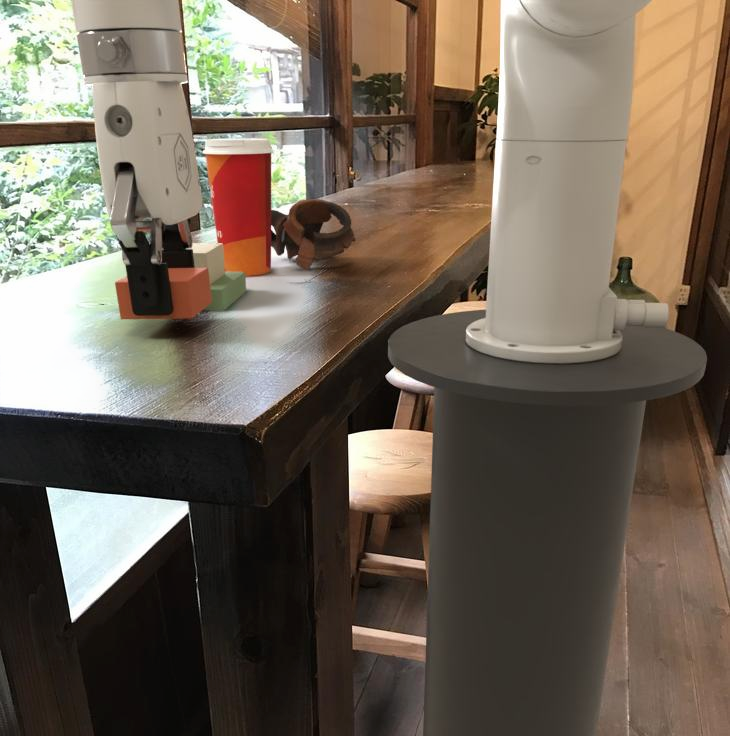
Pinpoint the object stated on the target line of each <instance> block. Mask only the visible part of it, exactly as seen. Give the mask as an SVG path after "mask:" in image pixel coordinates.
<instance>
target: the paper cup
mask: <svg viewBox="0 0 730 736" xmlns="http://www.w3.org/2000/svg"><path fill="white" fill-rule="evenodd" d="M270 141H271V140H270V139H269V138H259V137H250V138H247V137H245V138H241V137H240V138H239V137H238V138H232V137H231V138H210V139H205V144H204V149H203V150H202V153H201V154H204V155H205V161H206V168H207V169H206V170H207V177H208V183H209V191H210V198H211V207H212V213H213V220H214V227H215V228H214V229H215V234H216V235H215V236H216V241H217V243H223V252H224V265H225V272H245V277H252V276H261V275H265V274H269V273H270V272H271V269H272V268H271V267H272V247H271V230H272V225H271V210H272V153H275V151H274V149H272V146H271V142H270Z"/></svg>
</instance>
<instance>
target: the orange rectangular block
mask: <svg viewBox="0 0 730 736" xmlns="http://www.w3.org/2000/svg"><path fill="white" fill-rule="evenodd" d="M168 272H169V280H170V287H171V295H172V302H173V312H172V313H171V314H170V315H165V316H136V315H135V314H134V313H133V311H132V305H131V298H130V292H129V285H128V279H127V275H125V276H124V277H122V278H120V279H119V280H115V282H114V286H115V293H116V298H117V304H118V311H119V317H120V320H175V319H176V320H178V319H179V320H180V319H182V320H185V319H187V320H188V319H193V318H195V317H196V316H197V315H198V314H199V313H201V312H202V311H204V310H203V309H204V308H206V307H207V306H208V305H209V304H211V303H212V297H211V288H210V279H209V270H208V268H168Z"/></svg>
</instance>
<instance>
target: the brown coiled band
mask: <svg viewBox="0 0 730 736" xmlns="http://www.w3.org/2000/svg"><path fill="white" fill-rule="evenodd" d="M333 216H334V217H335V218H336V219H337V220H338V221H339V224H340V225H341V226H342V227H341V228H340V229H338V230H336V231H333V232H328V233H327V232H321V230H322V228H323V225H324V223H328V222H330V220H331V219H332V217H333ZM271 227H272V228H273V229H274V231H273V229H271V248H273V250H274V252H275V253H276V255H277V256H278V257H279V256H282V255H284V254H285V250H286V255H287V259H288V260H291V259H293V258H294V257H296V258H295V262H296V266H297V267H299V268H301V269H304V270H305V271H308V270H309V269H310V268H311V267H312V265H313V263H314V262H319V261H322V260H325V259H328V258H331V257H334V256H335V257H336V256H338V255H341V254H344V253H345V250H346V249H349V248H350V246H351V244H352V243H353V242H356V236H355V233H354V231H353V228H352V218H351V216H350V214H349V212H348V211H347V210H346V209H345V208H343V207H342V206H340V205H339V204H337V203H335V202H333V201H328V200H325V199H320V198H307V199H302V200H299V201H297V202H295V203H294V204H293V205H291V207H290V208H289V211H288V214H286V213H285V214H284V213H282V212H281V211H279V210H276V209H271Z"/></svg>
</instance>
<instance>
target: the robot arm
mask: <svg viewBox="0 0 730 736" xmlns="http://www.w3.org/2000/svg"><path fill="white" fill-rule="evenodd" d="M652 1H653V0H500V49H499V50H500V53H499V55H500V56H499V83H498V104H497V105H498V106H497V122H496V139H495V151H494V166H493V167H494V169H493V182H492V183H493V185H492V199H491V200H492V201H491V202H492V203H491V205H492V206H491V218H490V233H489V234H490V236H489V251H488V253H489V254H488V268H487V269H488V271H487V285H486V286H487V287H486V302H485V303H486V304H485V310H486V318H483V319H480V320H477V321H475V322H473V323H471V324H470V325H469V326H468V327H467V329H466V342H467V344H468V345H469V346H470V347H471V348H473V349H474V350H476V351H478V352H480V353H483V354H486V355H489V356H492V357H496V358H501V359H505V360H511V361H518V362H527V363H539V364H574V363H585V362H592V361H597V360H602V359H605V358H608V357H611V356H613V355H615V354H616V353H618V352H619V351H620V349H621V346H622V338H623V336H622V334H621V332H620V331H624V329H625V327H626V326H641V327H650V328H667V327H666V326H667V325H668V321H669V316H670V308H669V304H668V302H646V301H645V299H627V298H618V296H617V294H615V292H614V291H613V290H612V289H611V288H610V279H611V271H612V265H613V264H612V263H613V256H614V255H613V254H614V246H615V238H616V232H617V231H616V229H617V221H618V214H619V207H620V206H619V205H620V196H621V188H622V182H623V181H622V180H623V172H624V164H625V157H626V146H627V140H628V136H629V129H630V128H629V127H630V119H631V110H632V101H633V89H634V88H633V87H634V73H635V72H634V71H635V45H636V44H635V40H636V39H635V38H636V19H637V14H638V13H639V12H641V11H643V10H644V8H646V6H648V5H649V4H650V3H651V2H652ZM70 2H71V8H72V14H73V21H74V26H75V33H76V38H77V46H78V51H79V58H80V64H81V71H82V76H83V83H84V86H87V87H88V86H89V87H91V89H92V91H91V92H92V103H93V104H92V106H93V107H92V108H93V119H94V130H95V131H94V132H95V140H96V141H95V142H96V151H97V159H98V166H99V173H100V180H101V186H102V193H103V197H104V202H105V206H106V211H107V214H108V218H109V223H110V227H111V229H112V230H113V232H114V234H115V236H116V237H117V241H118V245H119V246H120V248H121V254H122V255H121V259H122V263H123V265H124V266H125V271H126V276H127V279H128V285H129V292H130V298H131V305H132V311H133V313H134V314H135V315H136V316H165V315H170V314H171V313H172V312H173V302H172V295H171V287H170V280H169V272H168V268H195V265H194V257H193V249H186V248H192V243H193V238H192V233H191V229H190V225H191V218H193V217H196V215H198V214H199V213H200V212H201V210H202V209H203V194H202V186H201V181H200V174H199V167H198V161H197V154H196V149H195V142H194V136H193V130H192V125H191V120H190V114H189V110H188V105H187V101H186V96H185V93H184V89H183V86H182V84H187V83H189V81H188V75H187V73H188V72H187V64H186V55H185V45H184V37H183V29H182V27H183V26H182V20H181V11H180V2H179V0H70ZM147 218H148V219H149V218H150V220H146V219H147ZM145 233H149V240H148V238H147V235H146V234H145ZM162 249H163V250H162Z"/></svg>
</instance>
